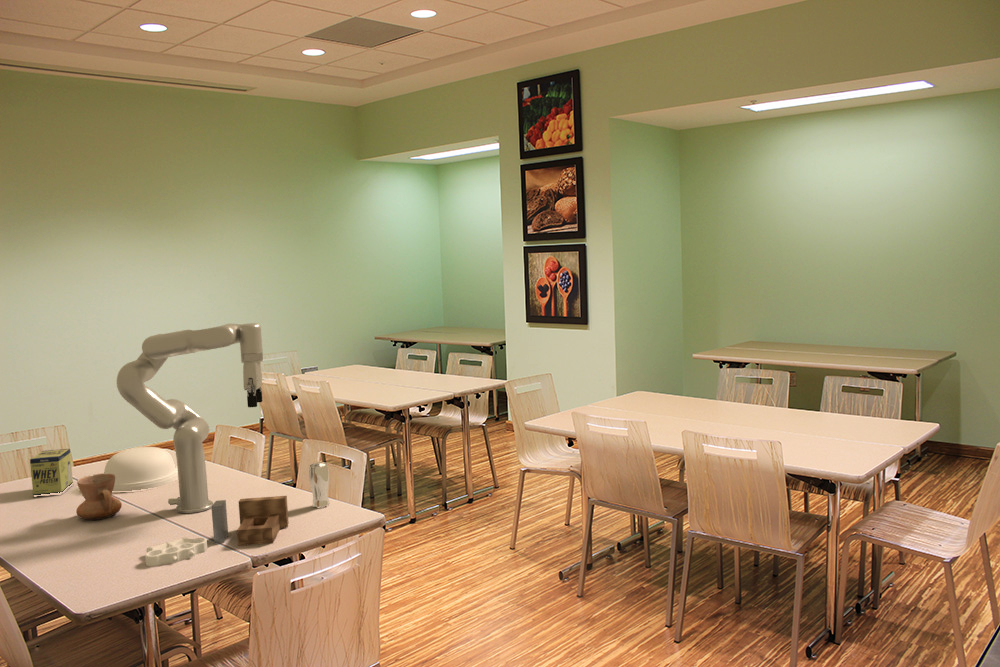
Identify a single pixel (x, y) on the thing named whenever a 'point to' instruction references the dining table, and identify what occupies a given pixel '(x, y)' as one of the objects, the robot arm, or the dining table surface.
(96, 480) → the ceramic jug
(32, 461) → the protein box
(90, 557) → the dining table surface
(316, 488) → the beer glass
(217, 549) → the dining table surface
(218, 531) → the grey rectangular block
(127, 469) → the dome cover
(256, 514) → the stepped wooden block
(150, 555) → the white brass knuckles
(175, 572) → the dining table surface
